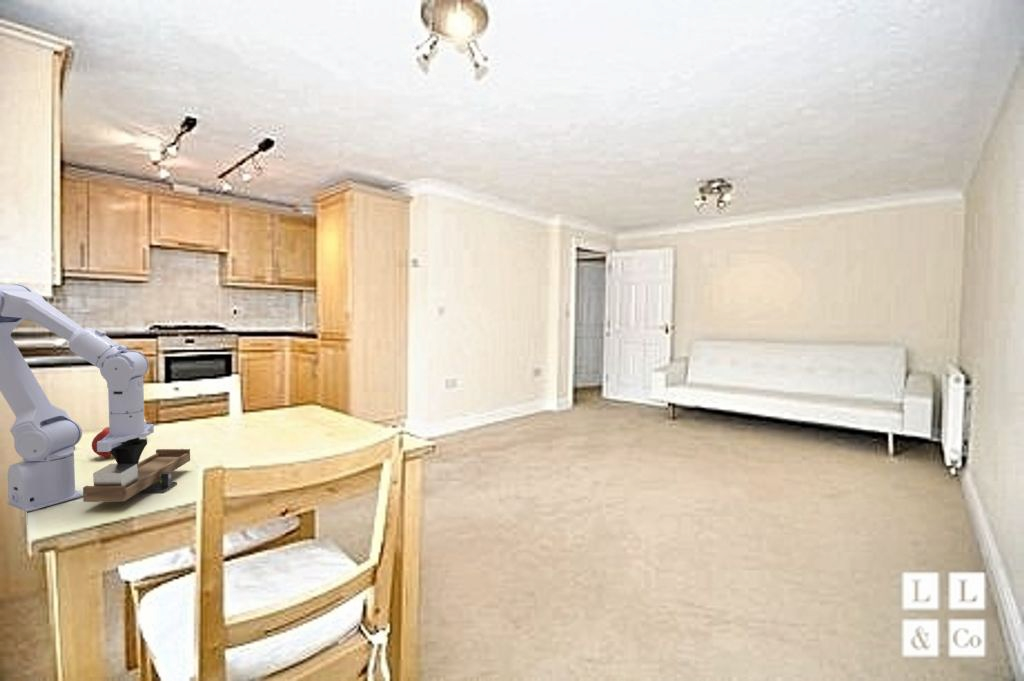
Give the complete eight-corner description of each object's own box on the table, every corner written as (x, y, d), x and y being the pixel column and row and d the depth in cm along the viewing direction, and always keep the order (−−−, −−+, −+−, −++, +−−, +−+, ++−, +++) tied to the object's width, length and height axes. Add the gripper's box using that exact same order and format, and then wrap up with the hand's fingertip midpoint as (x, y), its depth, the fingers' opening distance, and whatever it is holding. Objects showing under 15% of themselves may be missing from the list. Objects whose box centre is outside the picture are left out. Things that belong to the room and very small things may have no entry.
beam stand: (163, 493, 107) (163, 476, 107) (107, 493, 106) (106, 477, 106) (177, 484, 112) (176, 469, 112) (122, 484, 111) (122, 469, 111)
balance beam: (124, 501, 97) (124, 487, 97) (82, 501, 97) (82, 487, 96) (190, 460, 121) (190, 449, 121) (157, 460, 120) (157, 449, 120)
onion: (104, 462, 125) (104, 430, 125) (86, 460, 126) (85, 428, 126) (127, 455, 131) (126, 425, 130) (108, 453, 132) (108, 423, 131)
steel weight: (122, 492, 98) (120, 473, 98) (94, 493, 98) (93, 473, 97) (138, 482, 103) (137, 463, 103) (112, 482, 103) (110, 463, 102)
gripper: (124, 419, 96) (126, 488, 97) (168, 404, 111) (169, 464, 112) (84, 419, 96) (86, 489, 97) (133, 403, 110) (135, 464, 111)
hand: (128, 476), depth 104 cm, fingers closed
